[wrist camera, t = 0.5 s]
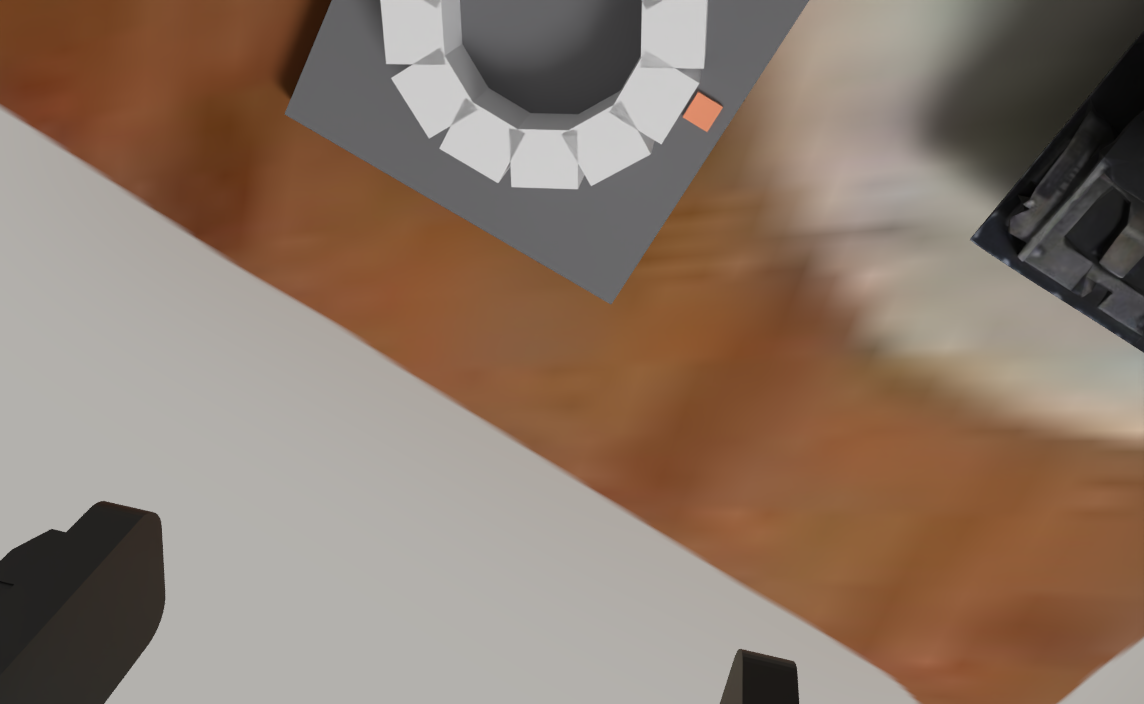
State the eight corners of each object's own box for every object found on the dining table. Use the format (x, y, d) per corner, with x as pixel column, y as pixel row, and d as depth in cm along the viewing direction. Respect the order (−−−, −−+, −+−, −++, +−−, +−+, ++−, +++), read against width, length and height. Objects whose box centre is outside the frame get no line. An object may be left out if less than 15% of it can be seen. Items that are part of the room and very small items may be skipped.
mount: (486, -344, 30) (457, -369, 27) (865, -96, 32) (881, -92, 29) (297, 107, 37) (256, 129, 34) (614, 292, 39) (604, 330, 36)
